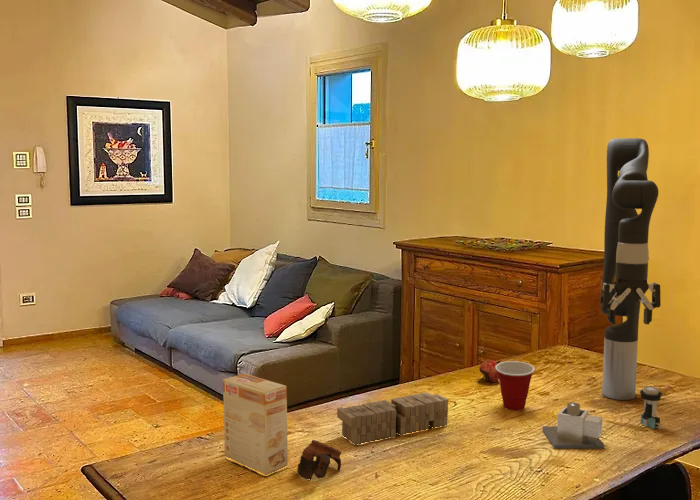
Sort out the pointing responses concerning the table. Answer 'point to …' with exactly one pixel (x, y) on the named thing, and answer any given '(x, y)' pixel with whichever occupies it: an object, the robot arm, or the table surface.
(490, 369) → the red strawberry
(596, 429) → the grey hollow block
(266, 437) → the coffeecake box
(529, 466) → the table surface
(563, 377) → the table surface
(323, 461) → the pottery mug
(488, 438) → the table surface
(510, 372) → the plastic cup
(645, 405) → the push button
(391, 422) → the block tower
